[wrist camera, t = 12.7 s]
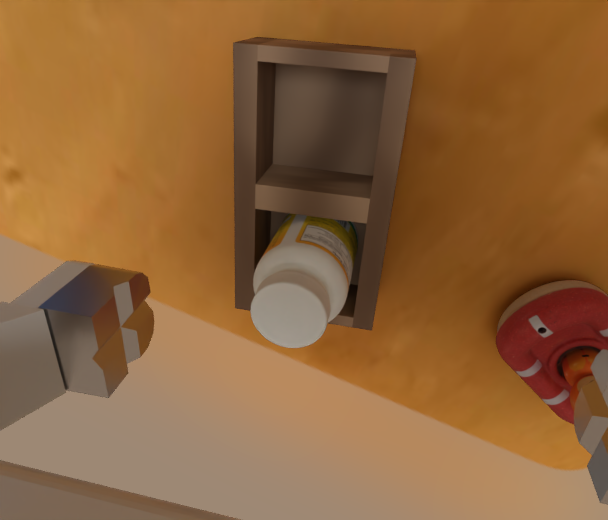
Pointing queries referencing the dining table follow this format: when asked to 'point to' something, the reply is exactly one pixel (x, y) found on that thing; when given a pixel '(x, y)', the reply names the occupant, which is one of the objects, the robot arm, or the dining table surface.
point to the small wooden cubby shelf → (318, 151)
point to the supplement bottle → (303, 279)
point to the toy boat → (555, 340)
